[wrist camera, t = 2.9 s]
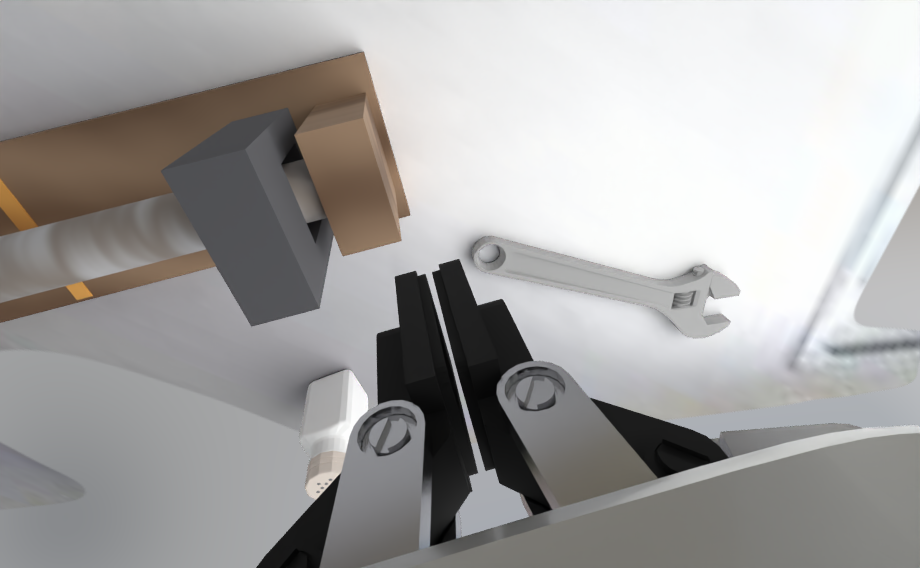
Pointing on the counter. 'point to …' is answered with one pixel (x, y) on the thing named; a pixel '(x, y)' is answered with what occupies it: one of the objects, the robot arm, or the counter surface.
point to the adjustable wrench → (616, 283)
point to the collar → (254, 216)
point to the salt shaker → (329, 426)
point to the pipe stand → (151, 199)
